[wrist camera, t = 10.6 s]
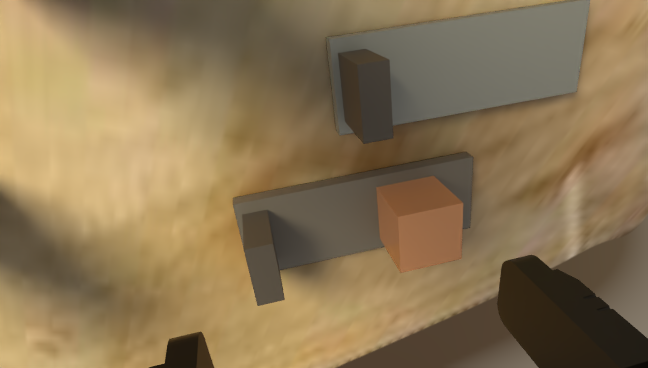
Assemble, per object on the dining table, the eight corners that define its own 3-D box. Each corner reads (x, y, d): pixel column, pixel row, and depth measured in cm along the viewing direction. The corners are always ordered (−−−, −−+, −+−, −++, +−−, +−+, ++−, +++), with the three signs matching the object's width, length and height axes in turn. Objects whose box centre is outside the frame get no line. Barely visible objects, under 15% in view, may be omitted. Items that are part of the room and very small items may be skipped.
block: (379, 238, 37) (400, 272, 32) (376, 187, 34) (397, 217, 30) (433, 226, 37) (461, 258, 33) (433, 175, 35) (463, 202, 31)
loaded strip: (250, 268, 37) (253, 317, 31) (232, 197, 33) (233, 239, 28) (463, 221, 39) (501, 259, 34) (466, 151, 36) (508, 181, 31)
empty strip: (336, 130, 33) (357, 159, 27) (325, 37, 30) (347, 48, 24) (566, 88, 35) (627, 107, 30) (578, -2, 32) (649, 0, 27)
